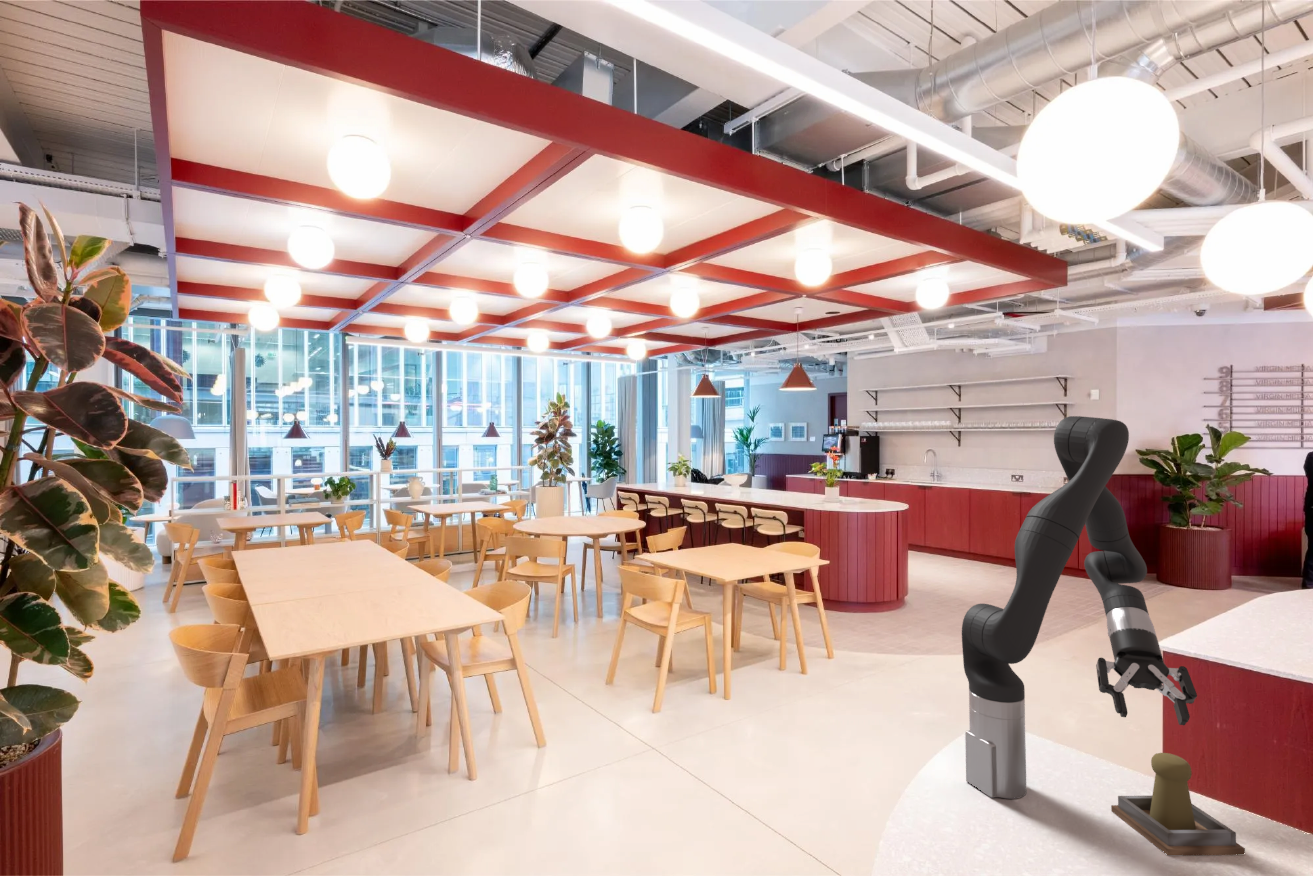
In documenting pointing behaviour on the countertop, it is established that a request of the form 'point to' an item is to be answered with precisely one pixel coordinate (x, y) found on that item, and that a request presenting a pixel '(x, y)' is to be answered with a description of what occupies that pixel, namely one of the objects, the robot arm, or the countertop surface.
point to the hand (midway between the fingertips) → (1153, 719)
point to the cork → (1172, 792)
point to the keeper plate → (1201, 841)
